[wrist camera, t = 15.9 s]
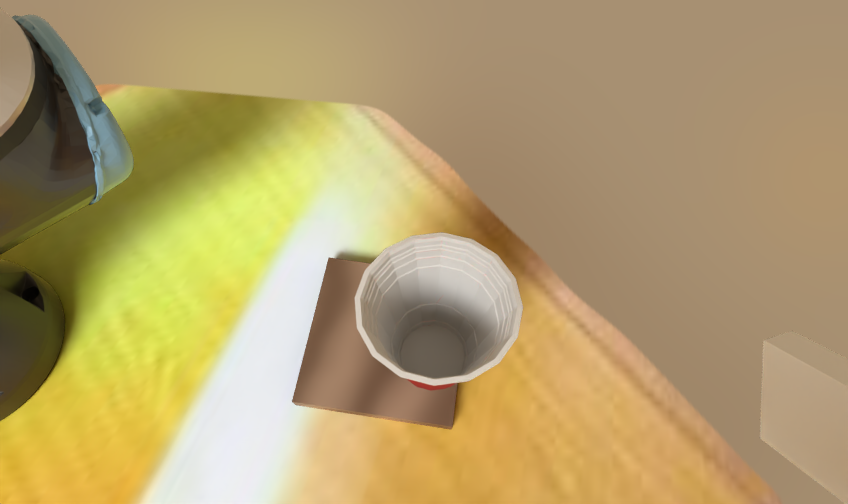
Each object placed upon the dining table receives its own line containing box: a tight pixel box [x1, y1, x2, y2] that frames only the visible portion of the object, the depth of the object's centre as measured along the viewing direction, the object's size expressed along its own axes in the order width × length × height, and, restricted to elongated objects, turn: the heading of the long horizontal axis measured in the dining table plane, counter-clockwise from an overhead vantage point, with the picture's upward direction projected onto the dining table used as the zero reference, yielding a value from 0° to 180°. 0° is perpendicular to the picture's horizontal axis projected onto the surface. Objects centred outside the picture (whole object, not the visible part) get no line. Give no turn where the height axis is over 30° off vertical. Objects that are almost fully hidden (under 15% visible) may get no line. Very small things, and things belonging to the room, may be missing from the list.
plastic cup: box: [355, 232, 523, 391], centre depth 39 cm, size 11×11×12 cm
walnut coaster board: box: [292, 258, 458, 429], centre depth 45 cm, size 13×13×2 cm
